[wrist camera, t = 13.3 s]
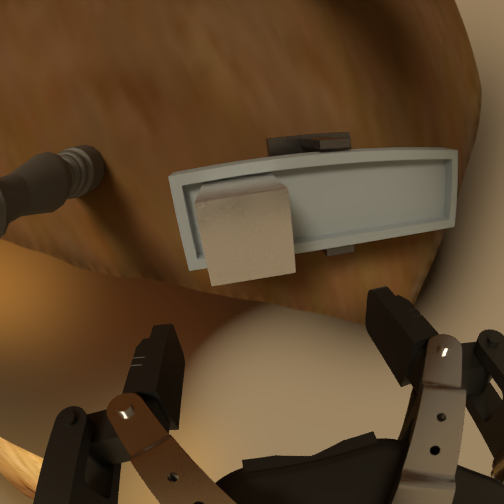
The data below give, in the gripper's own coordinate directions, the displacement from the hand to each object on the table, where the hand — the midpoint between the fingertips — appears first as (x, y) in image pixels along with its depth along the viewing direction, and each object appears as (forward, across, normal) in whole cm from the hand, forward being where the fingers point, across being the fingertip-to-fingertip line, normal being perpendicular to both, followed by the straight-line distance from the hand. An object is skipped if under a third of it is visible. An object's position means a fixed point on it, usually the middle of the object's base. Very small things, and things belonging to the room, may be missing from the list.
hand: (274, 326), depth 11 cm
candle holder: (+26, +19, -7) cm, 33 cm away
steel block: (+17, 0, 0) cm, 17 cm away
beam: (+19, -9, 0) cm, 21 cm away
